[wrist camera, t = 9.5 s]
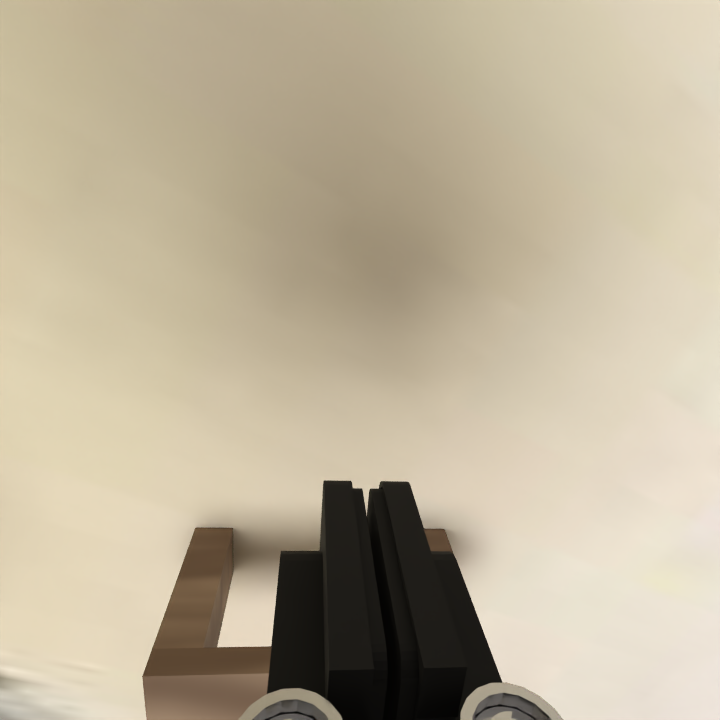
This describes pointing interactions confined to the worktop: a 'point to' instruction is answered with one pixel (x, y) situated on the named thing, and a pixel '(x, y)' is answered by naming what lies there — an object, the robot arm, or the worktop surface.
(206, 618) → the bridge
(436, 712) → the robot arm
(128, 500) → the worktop surface
